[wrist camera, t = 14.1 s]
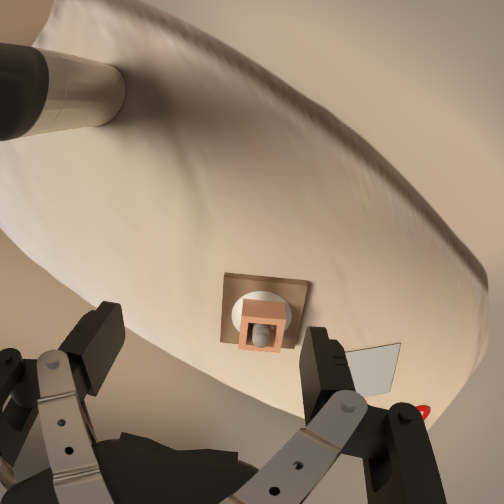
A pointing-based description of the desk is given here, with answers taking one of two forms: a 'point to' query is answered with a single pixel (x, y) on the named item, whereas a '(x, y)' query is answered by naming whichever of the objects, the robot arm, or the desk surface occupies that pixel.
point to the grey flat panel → (373, 369)
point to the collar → (262, 315)
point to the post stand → (265, 290)
